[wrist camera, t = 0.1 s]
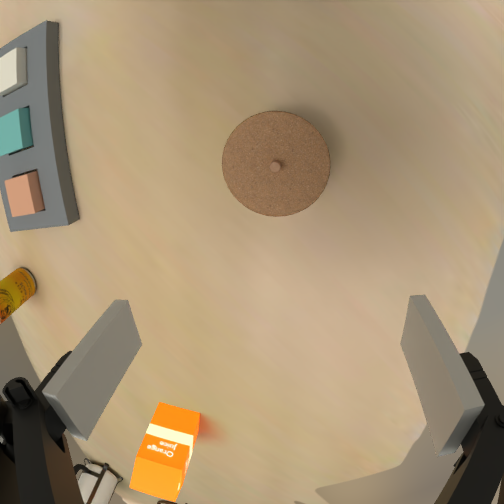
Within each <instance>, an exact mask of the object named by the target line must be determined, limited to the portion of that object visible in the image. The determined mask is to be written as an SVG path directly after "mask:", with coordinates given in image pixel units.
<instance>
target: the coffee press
mask: <svg viewBox="0 0 504 504" xmlns="http://www.w3.org/2000/svg"><path fill="white" fill-rule="evenodd" d="M85 460H87V461H88V463H89V464H87V465H86V464H85V465H86V466H84V465H81V464H77V465H76V466H74V467H73V468H74V471H75V475H76V474H77V472H78V471H79V470H80V469H82V470H83V471H82V474H81V476H80V477H79V479H78V481H77V482H78V485H79V489H80V492H81V495H82V498H83V501H84V504H109V502H110V500H111V497H112V496H111V495H113V493H114V490H115V489H114V488H116V486H117V484H118V483H119V482H121V481H122V480H123V478H122V477H115V475H114V474H112V473H111V472H110V471H108V470H107V468H108V466H109V465H108V464H106V463H105V464H104V466H103V467H101V466H98V465H95V464H90V462H89V460H88V459H87V458H85ZM85 460H84V462H85ZM117 478H121V479H122V480H121V481H119V482H118V483H117ZM116 483H117V484H116Z"/></svg>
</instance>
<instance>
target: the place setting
mask: <svg viewBox="0 0 504 504" xmlns="http://www.w3.org/2000/svg"><path fill="white" fill-rule="evenodd" d="M161 503H167V504H176V503H173V502H169V501H159V502H158V503H157V504H161ZM186 504H187V503H186Z"/></svg>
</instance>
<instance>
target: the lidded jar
mask: <svg viewBox="0 0 504 504" xmlns="http://www.w3.org/2000/svg"><path fill="white" fill-rule="evenodd" d="M222 168H223V174H224V178H225V181H226V183H227V186H228V188H229V189H230V191H231V192H232V194H233V195H234V196H235V198H236V199H237V200H238V201H239V202H240V203H242V204H243V205H244V206H245V207H247V208H249V209H250V210H252V211H254V212H257V213H259V214H263V215H267V216H287V215H292V214H295V213H297V212H300V211H302V210H304V209H306V208H307V207H308V206H310V205H311V204H312V203H314V201H315V200H316V199H317V198H318V197H319V196H320V195H321V193H322V192H323V190H324V188H325V186H326V184H327V181H328V178H329V173H330V156H329V151H328V148H327V145H326V143H325V141H324V139H323V137H322V136H321V134H320V133H319V132H318V130H317V129H316V128H315V127H314V126H313V125H312V124H310V123H309V122H308V121H306V120H305V119H303V118H301V117H299V116H297V115H295V114H292V113H288V112H282V111H268V112H263V113H259V114H256V115H254V116H251V117H250V118H248V119H246V120H245V121H243V122H242V123H241V124H240V125H238V126H237V127H236V129H235V130H234V131H233V132H232V133H231V135H230V137H229V138H228V140H227V142H226V145H225V147H224V152H223V157H222Z"/></svg>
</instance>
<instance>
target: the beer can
mask: <svg viewBox="0 0 504 504" xmlns="http://www.w3.org/2000/svg"><path fill="white" fill-rule="evenodd" d="M35 288H36V283H35V280H34V278H33V276H32V274H31V273H30V272H29V271H28V270H26V269H22V268H18V269H16V270H15V271H13V272H12V273H11V274H9V275H8V276H7V277H5V278H4V279H3V280H1V281H0V324H1V323H2V322H3V321H5V320H6V319H7V318H8V317H9V316H10V315H11V314H12V313H13V312H14V311H15V310H17V309H18V308H19V307H20V306H21V305H22V304H23V303H24V302H26V301H27V300H28V299H29V298H30V297H31V296H32V295H34V293H35Z"/></svg>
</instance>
